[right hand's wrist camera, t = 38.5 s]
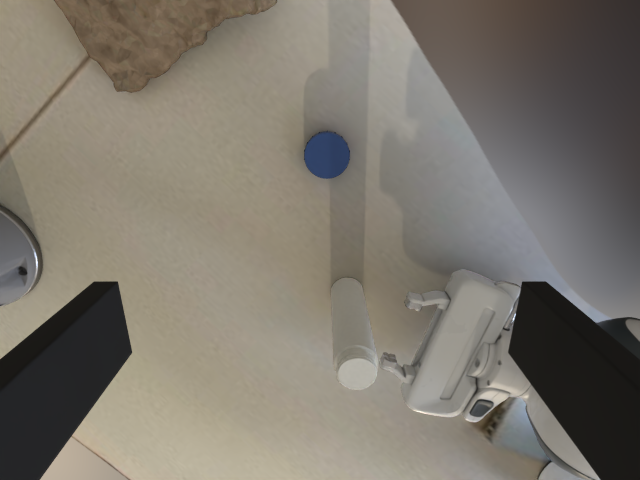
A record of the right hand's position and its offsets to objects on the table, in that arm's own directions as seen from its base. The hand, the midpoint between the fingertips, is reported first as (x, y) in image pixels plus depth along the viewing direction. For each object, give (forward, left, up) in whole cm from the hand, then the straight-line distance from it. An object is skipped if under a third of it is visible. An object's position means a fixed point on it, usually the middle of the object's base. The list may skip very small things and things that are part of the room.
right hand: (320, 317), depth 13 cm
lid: (0, +1, -36) cm, 36 cm away
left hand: (+23, -2, -31) cm, 39 cm away
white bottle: (+19, -6, -38) cm, 43 cm away
